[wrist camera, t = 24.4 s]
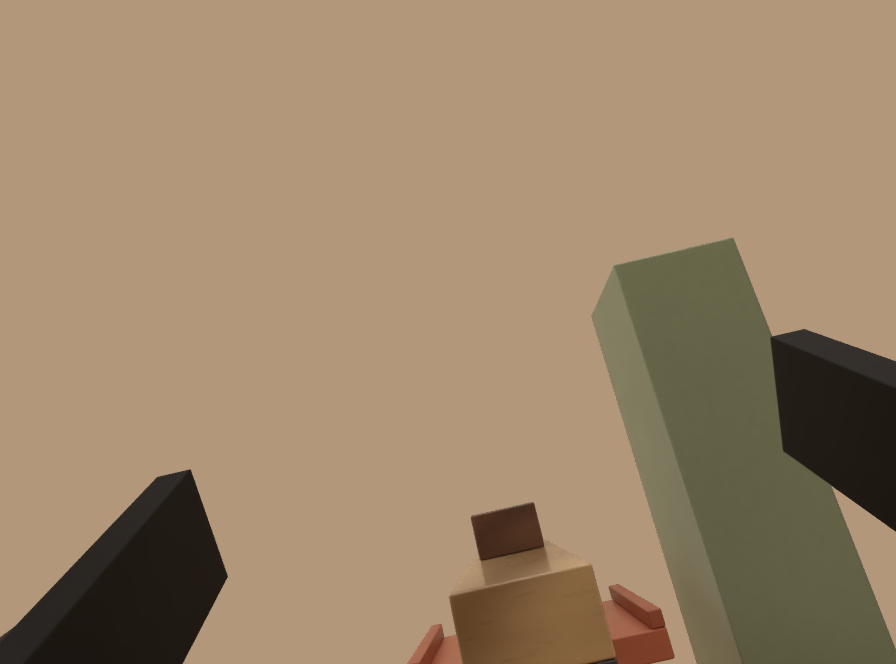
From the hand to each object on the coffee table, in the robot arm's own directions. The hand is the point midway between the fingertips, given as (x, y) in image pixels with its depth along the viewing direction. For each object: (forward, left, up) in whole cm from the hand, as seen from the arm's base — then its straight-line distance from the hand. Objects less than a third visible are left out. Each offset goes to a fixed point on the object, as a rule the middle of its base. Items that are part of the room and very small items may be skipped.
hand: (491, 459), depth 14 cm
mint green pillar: (+11, +19, -24) cm, 32 cm away
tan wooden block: (0, +13, -6) cm, 14 cm away
